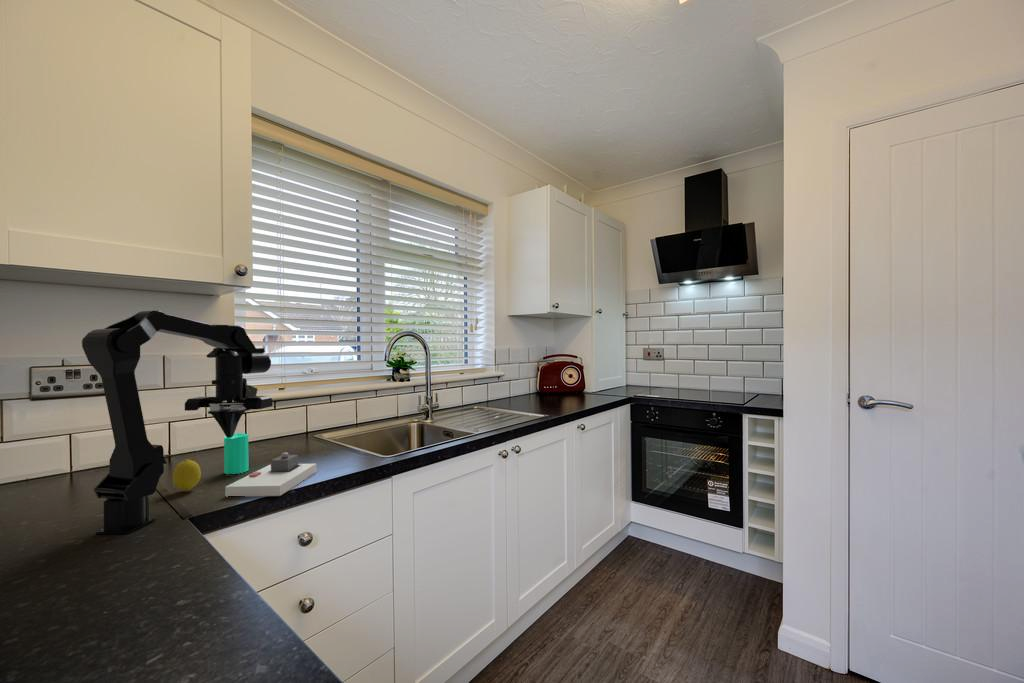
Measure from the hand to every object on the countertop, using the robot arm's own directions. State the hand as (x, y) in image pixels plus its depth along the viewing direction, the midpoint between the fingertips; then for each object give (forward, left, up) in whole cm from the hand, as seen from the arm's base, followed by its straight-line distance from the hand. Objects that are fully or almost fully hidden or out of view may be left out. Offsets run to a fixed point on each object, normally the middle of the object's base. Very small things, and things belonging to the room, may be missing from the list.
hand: (229, 437), depth 106 cm
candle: (+15, +8, -13) cm, 22 cm away
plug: (+9, -9, -13) cm, 18 cm away
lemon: (-1, +10, -13) cm, 17 cm away
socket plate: (+4, -9, -13) cm, 16 cm away
